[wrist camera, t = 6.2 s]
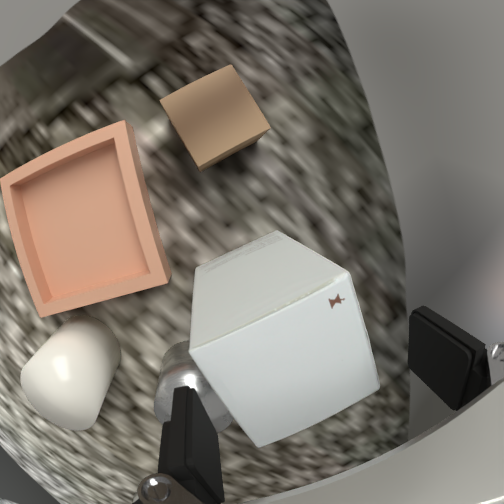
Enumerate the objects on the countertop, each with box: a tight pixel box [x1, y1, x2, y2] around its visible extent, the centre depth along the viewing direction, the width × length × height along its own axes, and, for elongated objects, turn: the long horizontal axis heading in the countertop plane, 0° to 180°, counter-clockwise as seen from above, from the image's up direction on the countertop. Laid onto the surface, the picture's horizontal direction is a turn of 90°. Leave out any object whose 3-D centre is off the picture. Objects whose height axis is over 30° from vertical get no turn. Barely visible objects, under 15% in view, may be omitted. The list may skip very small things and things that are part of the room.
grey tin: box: [154, 340, 234, 433], centre depth 22 cm, size 6×6×6 cm
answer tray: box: [0, 120, 172, 318], centre depth 19 cm, size 12×12×2 cm
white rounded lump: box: [21, 315, 121, 430], centre depth 19 cm, size 6×6×8 cm
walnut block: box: [160, 65, 270, 172], centre depth 19 cm, size 5×5×5 cm
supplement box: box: [189, 230, 380, 448], centre depth 18 cm, size 7×7×13 cm
